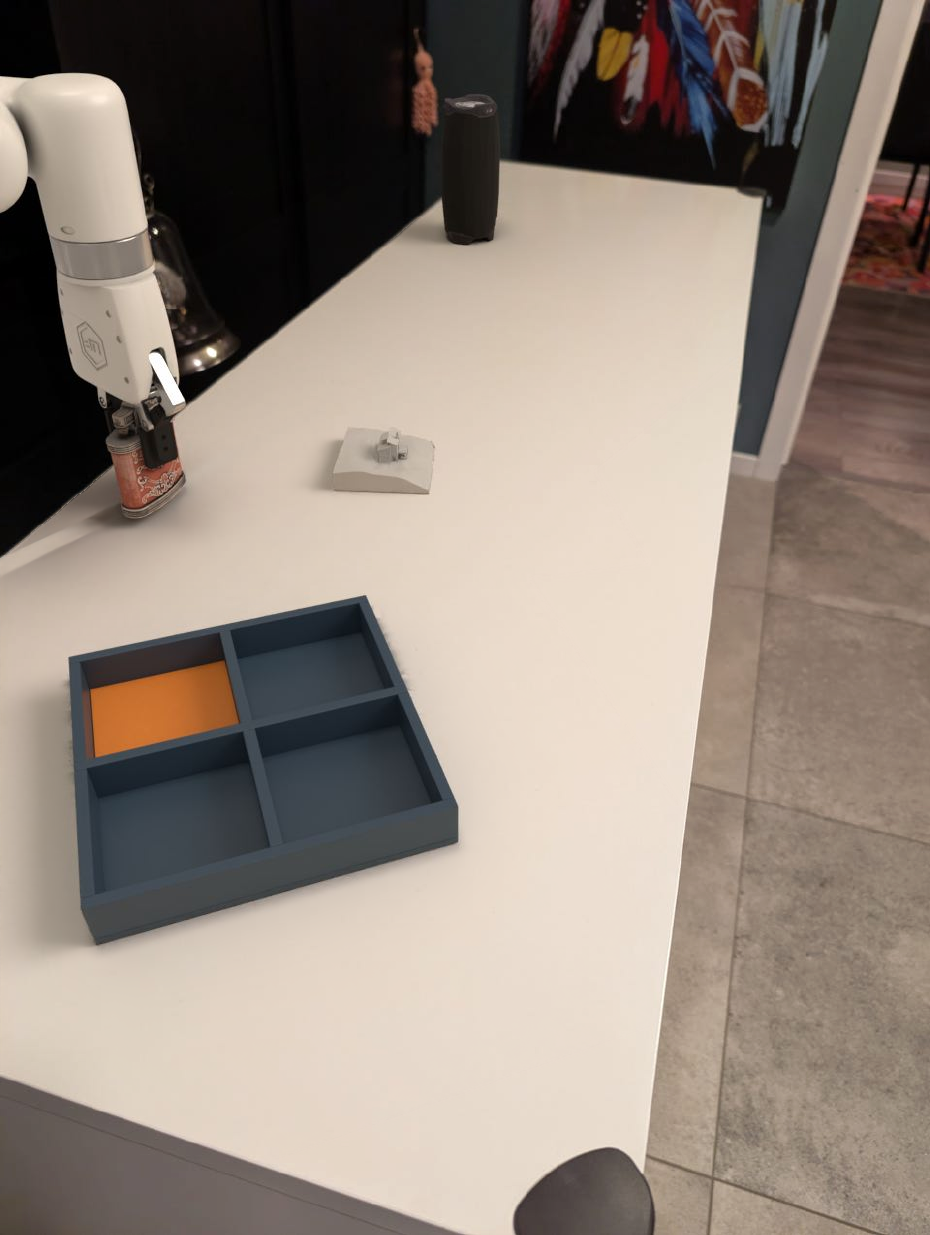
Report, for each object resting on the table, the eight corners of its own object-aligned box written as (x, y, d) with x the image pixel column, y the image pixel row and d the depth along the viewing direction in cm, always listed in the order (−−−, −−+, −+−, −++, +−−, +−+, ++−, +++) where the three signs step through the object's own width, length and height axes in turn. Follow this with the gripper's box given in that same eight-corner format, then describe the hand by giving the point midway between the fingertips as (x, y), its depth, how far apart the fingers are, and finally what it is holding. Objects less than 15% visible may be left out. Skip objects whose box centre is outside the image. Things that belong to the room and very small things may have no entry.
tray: (80, 692, 72) (68, 656, 70) (368, 629, 78) (366, 594, 76) (95, 945, 56) (80, 910, 54) (458, 842, 62) (458, 806, 59)
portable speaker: (433, 243, 150) (431, 103, 137) (455, 225, 156) (455, 90, 144) (485, 249, 147) (487, 108, 135) (505, 231, 154) (509, 95, 141)
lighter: (144, 521, 88) (122, 423, 81) (113, 513, 89) (89, 415, 82) (194, 479, 94) (177, 384, 87) (164, 472, 95) (145, 377, 88)
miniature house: (450, 491, 94) (450, 457, 92) (336, 503, 92) (333, 469, 90) (429, 432, 103) (429, 400, 101) (325, 442, 101) (321, 410, 99)
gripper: (4, 238, 79) (58, 437, 90) (124, 291, 70) (167, 503, 82) (86, 218, 83) (127, 410, 95) (207, 266, 75) (236, 470, 86)
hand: (145, 451), depth 88 cm, fingers closed on lighter, 4 cm apart
